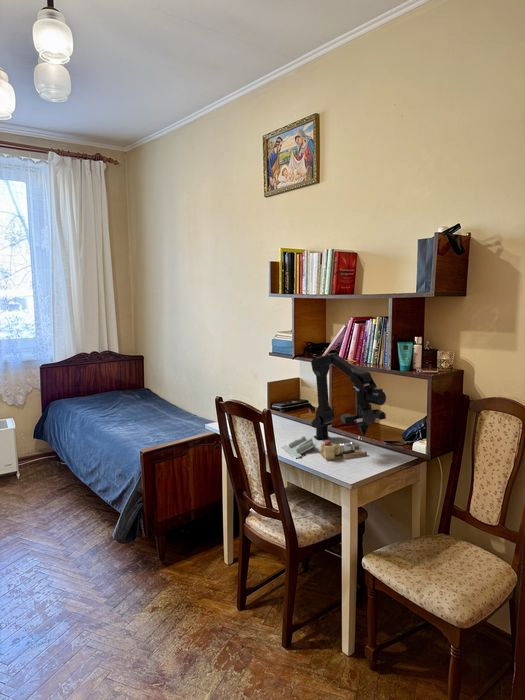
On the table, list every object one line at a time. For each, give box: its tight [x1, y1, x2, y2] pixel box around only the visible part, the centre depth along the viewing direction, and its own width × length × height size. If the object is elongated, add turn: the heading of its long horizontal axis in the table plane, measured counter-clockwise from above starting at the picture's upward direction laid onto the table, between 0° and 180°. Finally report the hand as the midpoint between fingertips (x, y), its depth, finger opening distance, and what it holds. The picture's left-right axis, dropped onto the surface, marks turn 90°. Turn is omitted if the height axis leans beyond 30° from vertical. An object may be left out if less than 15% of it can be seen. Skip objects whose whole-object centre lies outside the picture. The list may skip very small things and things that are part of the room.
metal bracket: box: [280, 435, 318, 459], centre depth 213 cm, size 14×6×15 cm
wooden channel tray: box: [319, 439, 368, 463], centre depth 204 cm, size 10×18×7 cm, turn 103°
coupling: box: [338, 441, 355, 455], centre depth 205 cm, size 5×6×5 cm
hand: (363, 435), depth 205 cm, fingers closed
